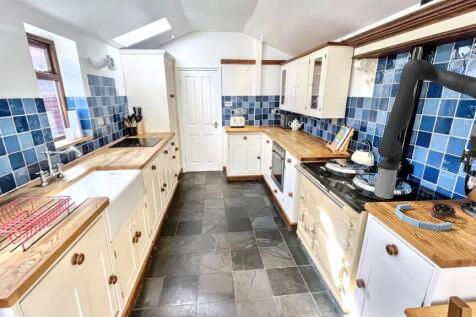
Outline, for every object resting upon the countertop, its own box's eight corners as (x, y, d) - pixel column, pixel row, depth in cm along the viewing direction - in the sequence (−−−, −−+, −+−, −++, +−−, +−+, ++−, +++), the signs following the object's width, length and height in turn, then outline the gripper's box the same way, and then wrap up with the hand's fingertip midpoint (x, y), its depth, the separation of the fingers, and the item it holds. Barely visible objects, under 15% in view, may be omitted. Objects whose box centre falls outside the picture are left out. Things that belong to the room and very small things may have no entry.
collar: (407, 208, 119) (408, 203, 118) (451, 229, 98) (452, 223, 98) (384, 211, 116) (385, 206, 115) (424, 233, 96) (425, 227, 95)
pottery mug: (462, 222, 104) (460, 210, 101) (440, 229, 107) (437, 217, 104) (443, 205, 115) (441, 194, 112) (423, 211, 117) (420, 200, 114)
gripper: (487, 132, 98) (477, 168, 102) (459, 134, 96) (451, 170, 100) (509, 135, 91) (498, 173, 95) (480, 137, 89) (470, 175, 93)
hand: (474, 171), depth 98 cm, fingers open, 8 cm apart
